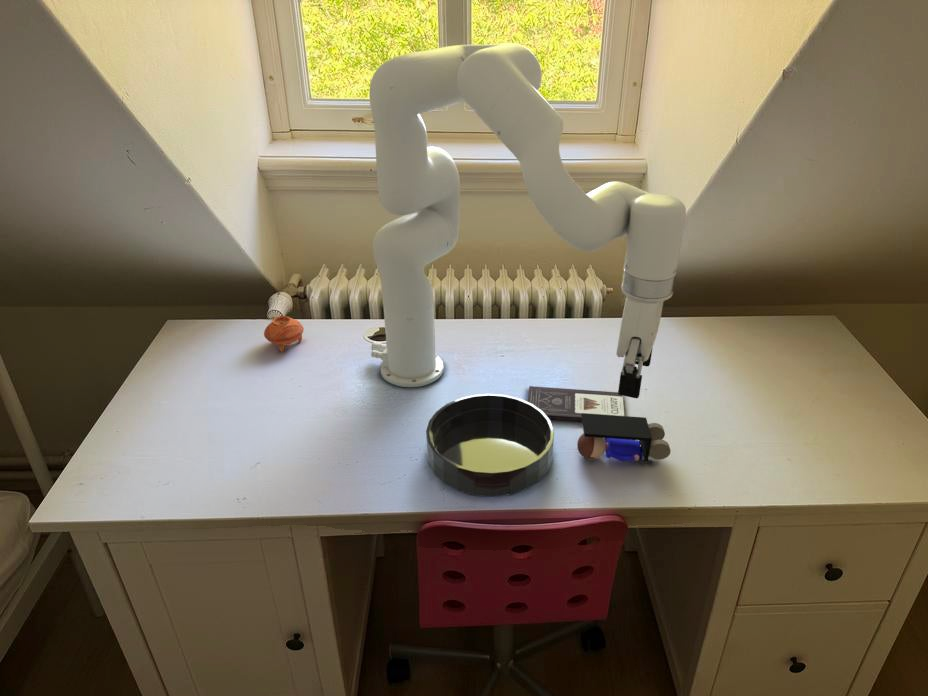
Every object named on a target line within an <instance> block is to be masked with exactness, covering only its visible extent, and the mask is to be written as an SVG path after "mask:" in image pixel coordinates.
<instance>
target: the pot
mask: <svg viewBox="0 0 928 696" xmlns="http://www.w3.org/2000/svg"><path fill="white" fill-rule="evenodd" d="M304 331H305V330H304V326H303V325H302V323H301V322H300V321H299V320H297V319H294V318H292V317H290V316H287V315H280V316H276V317H275V318H273V319H272V320H271V322H270V323H269V324H268V325H267V326H266V327H265V329H264V332H263V336H264V338H265V339H266V340H267V341H268V342H269V343H271V344H274V345H277V347H278V349H279V350H280V352H281V353H283V352H284V351H285V346H288V345H291V344H293V343H295V342H296V341H298V342H299V343H301V342H302V340H303V333H304Z"/></svg>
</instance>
